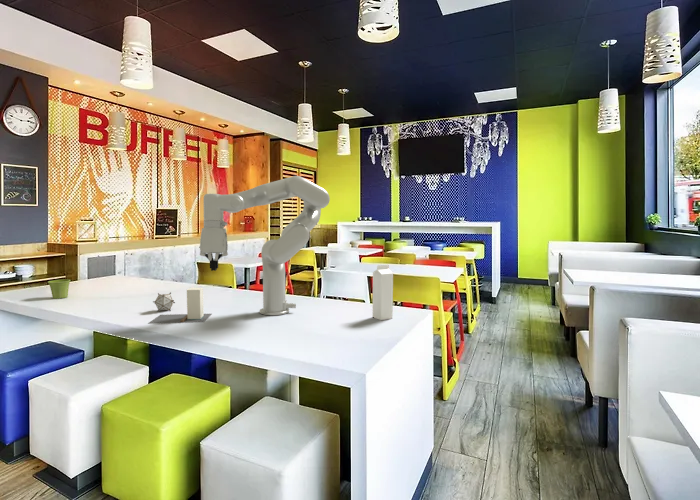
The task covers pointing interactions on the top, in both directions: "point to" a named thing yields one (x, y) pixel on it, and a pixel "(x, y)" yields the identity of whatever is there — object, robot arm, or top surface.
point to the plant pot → (59, 288)
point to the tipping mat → (177, 319)
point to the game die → (164, 302)
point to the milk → (382, 293)
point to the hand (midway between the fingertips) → (214, 270)
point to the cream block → (195, 303)
